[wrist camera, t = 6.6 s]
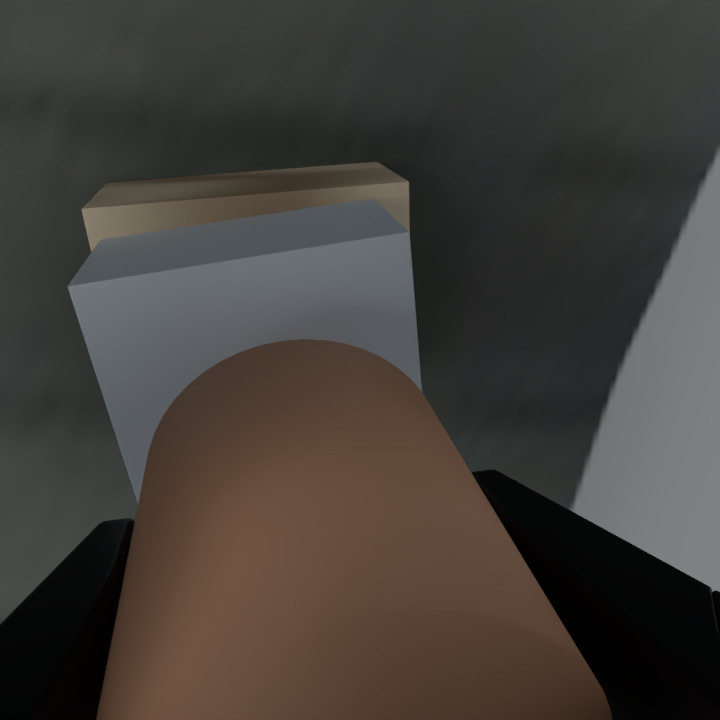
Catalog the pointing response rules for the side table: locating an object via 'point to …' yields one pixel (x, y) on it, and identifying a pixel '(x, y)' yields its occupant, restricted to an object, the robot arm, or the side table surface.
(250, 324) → the grey-blue top block
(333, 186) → the oak base block
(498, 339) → the side table surface
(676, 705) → the robot arm
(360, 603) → the terracotta rounded cylinder
